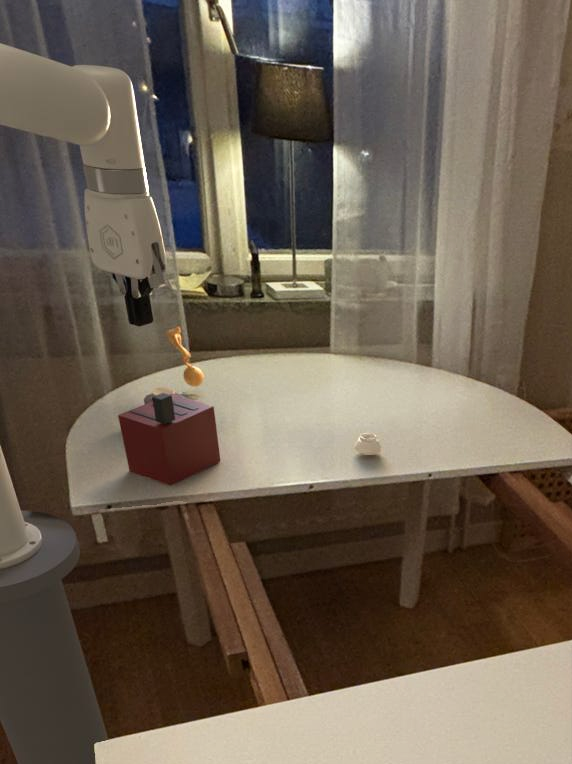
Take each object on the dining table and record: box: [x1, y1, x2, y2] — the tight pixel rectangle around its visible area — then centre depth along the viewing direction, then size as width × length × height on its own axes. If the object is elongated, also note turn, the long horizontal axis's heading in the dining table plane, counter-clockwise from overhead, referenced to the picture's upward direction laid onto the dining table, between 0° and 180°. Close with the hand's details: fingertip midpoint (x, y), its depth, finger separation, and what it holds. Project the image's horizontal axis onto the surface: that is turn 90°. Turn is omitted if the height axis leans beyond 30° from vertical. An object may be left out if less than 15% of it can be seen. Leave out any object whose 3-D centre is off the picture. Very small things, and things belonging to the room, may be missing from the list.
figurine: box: [166, 326, 205, 388], centre depth 156 cm, size 8×6×12 cm
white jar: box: [354, 432, 383, 456], centre depth 142 cm, size 5×3×5 cm
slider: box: [152, 393, 175, 424], centre depth 121 cm, size 2×2×4 cm
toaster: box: [117, 394, 221, 487], centre depth 128 cm, size 12×9×10 cm
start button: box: [150, 387, 176, 397], centre depth 143 cm, size 4×4×2 cm
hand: (141, 323), depth 113 cm, fingers closed
